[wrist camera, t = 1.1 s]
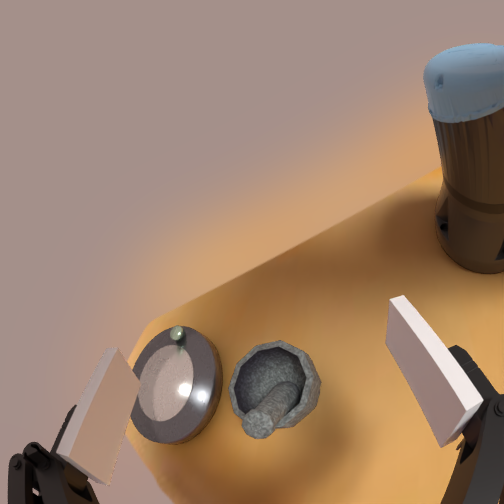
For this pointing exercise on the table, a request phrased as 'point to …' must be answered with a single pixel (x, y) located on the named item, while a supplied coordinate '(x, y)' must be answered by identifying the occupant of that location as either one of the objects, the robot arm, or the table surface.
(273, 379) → the mortar and pestle
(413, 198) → the table surface
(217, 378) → the base
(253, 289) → the table surface
